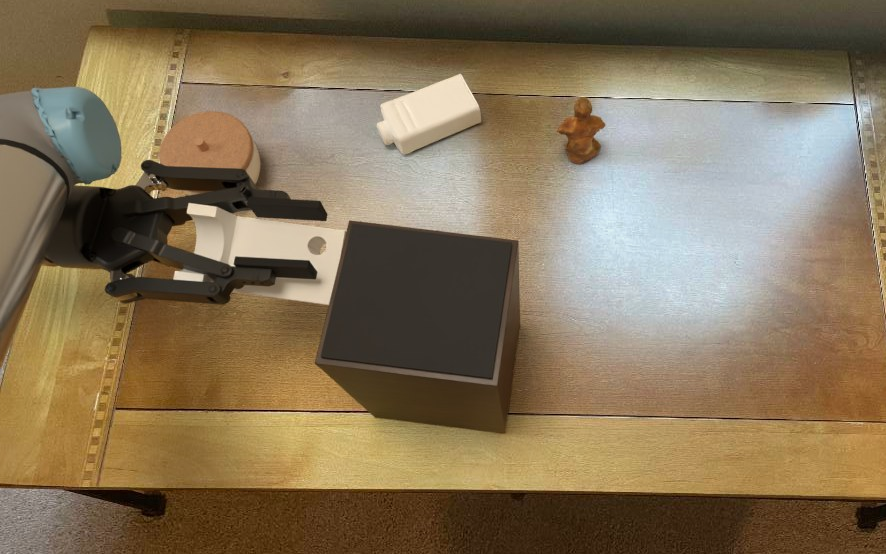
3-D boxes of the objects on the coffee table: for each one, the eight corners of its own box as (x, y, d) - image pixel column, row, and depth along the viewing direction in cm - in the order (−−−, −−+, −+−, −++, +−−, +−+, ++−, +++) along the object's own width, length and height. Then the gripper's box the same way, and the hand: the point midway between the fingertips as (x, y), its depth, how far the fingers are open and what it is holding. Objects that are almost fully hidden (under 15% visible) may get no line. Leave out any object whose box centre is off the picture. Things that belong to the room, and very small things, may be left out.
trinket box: (171, 203, 90) (133, 166, 82) (212, 134, 94) (179, 91, 85) (248, 228, 89) (218, 193, 81) (286, 158, 93) (261, 117, 84)
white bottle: (373, 124, 95) (367, 106, 91) (461, 88, 97) (459, 69, 93) (392, 163, 93) (386, 146, 89) (482, 125, 95) (480, 107, 91)
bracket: (213, 290, 70) (172, 281, 63) (227, 219, 71) (188, 202, 64) (343, 307, 70) (317, 301, 62) (355, 237, 71) (331, 222, 63)
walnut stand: (505, 434, 81) (497, 386, 58) (374, 417, 81) (314, 363, 58) (520, 325, 86) (518, 240, 62) (396, 309, 86) (348, 219, 63)
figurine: (559, 135, 95) (563, 79, 84) (601, 141, 95) (612, 86, 84) (554, 164, 94) (558, 112, 82) (597, 171, 93) (607, 119, 82)
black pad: (492, 379, 58) (492, 378, 57) (321, 358, 58) (320, 356, 58) (512, 244, 62) (512, 242, 62) (353, 225, 62) (352, 223, 62)
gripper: (111, 160, 72) (343, 172, 72) (57, 334, 65) (312, 348, 65) (67, 117, 65) (323, 131, 65) (1, 307, 58) (287, 323, 58)
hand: (317, 240), depth 65 cm, fingers open, 5 cm apart
